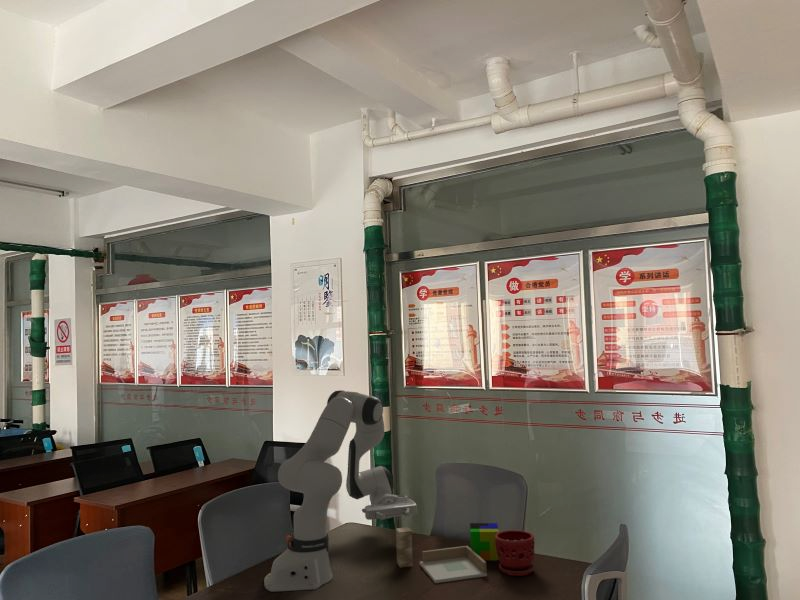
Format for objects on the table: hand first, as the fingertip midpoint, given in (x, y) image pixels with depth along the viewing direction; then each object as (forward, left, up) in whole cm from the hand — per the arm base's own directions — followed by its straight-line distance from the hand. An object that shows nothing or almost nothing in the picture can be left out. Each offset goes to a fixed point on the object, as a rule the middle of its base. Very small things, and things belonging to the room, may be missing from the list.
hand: (395, 516), depth 228 cm
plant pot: (+34, -30, -14) cm, 47 cm away
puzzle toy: (+30, -13, -14) cm, 35 cm away
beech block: (0, -12, -13) cm, 18 cm away
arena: (+14, -23, -13) cm, 30 cm away
